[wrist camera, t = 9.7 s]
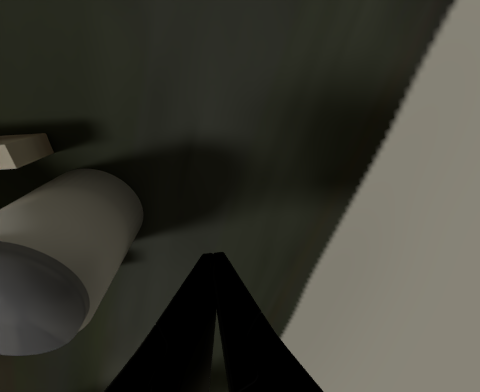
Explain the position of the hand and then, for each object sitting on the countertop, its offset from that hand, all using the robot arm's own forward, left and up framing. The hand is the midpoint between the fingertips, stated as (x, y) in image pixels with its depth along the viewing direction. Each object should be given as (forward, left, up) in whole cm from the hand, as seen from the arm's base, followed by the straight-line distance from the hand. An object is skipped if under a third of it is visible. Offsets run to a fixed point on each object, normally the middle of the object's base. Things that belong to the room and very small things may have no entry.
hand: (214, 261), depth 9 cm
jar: (0, +7, -5) cm, 9 cm away
